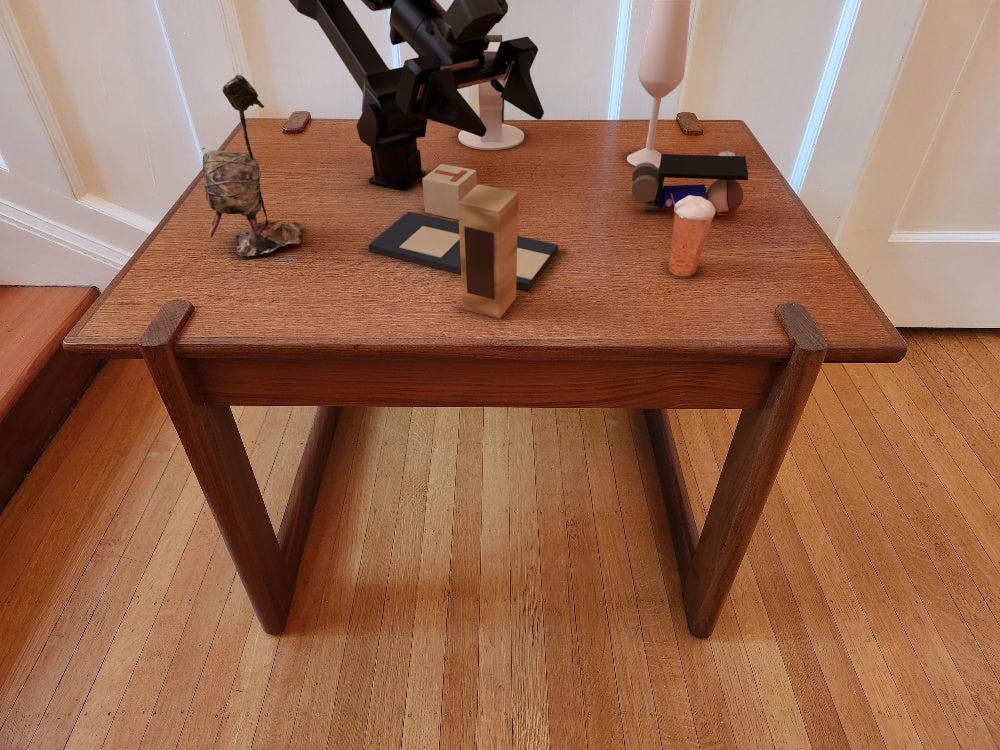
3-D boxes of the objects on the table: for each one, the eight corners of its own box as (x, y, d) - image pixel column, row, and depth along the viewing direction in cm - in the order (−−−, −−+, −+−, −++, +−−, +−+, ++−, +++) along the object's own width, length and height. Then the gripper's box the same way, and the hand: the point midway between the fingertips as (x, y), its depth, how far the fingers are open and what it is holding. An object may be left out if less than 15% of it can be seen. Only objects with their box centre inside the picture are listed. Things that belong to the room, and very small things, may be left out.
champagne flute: (677, 162, 103) (709, -10, 87) (647, 172, 100) (674, -4, 84) (648, 148, 107) (673, -18, 91) (618, 157, 104) (638, -13, 88)
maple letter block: (462, 309, 72) (456, 202, 64) (480, 288, 75) (477, 183, 67) (499, 319, 71) (498, 211, 62) (516, 297, 74) (518, 191, 65)
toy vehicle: (630, 225, 90) (743, 224, 86) (631, 174, 85) (751, 169, 82) (631, 204, 95) (738, 201, 91) (632, 154, 90) (745, 149, 87)
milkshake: (652, 261, 80) (665, 185, 73) (694, 259, 80) (711, 183, 74) (662, 281, 76) (677, 203, 70) (705, 278, 77) (725, 201, 70)
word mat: (369, 251, 82) (367, 243, 81) (409, 217, 89) (408, 210, 88) (527, 291, 75) (528, 283, 74) (557, 251, 82) (558, 243, 81)
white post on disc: (524, 151, 106) (527, 53, 96) (456, 151, 106) (451, 53, 96) (523, 125, 115) (525, 33, 105) (460, 125, 115) (456, 32, 105)
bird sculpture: (222, 230, 86) (171, 72, 73) (308, 225, 87) (273, 68, 74) (209, 262, 80) (151, 95, 67) (302, 256, 81) (263, 90, 68)
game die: (732, 168, 101) (737, 149, 99) (736, 178, 98) (741, 159, 96) (710, 167, 101) (714, 148, 99) (713, 177, 98) (717, 158, 96)
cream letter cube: (425, 212, 90) (422, 177, 86) (443, 196, 93) (441, 162, 90) (459, 220, 88) (458, 185, 85) (477, 203, 92) (476, 169, 88)
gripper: (380, -28, 64) (475, 77, 61) (512, -40, 74) (598, 49, 71) (362, 69, 73) (444, 165, 70) (482, 46, 83) (557, 128, 80)
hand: (514, 124), depth 72 cm, fingers open, 9 cm apart
